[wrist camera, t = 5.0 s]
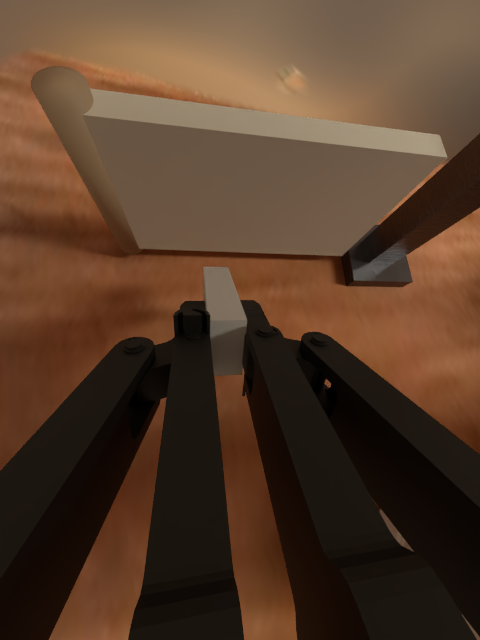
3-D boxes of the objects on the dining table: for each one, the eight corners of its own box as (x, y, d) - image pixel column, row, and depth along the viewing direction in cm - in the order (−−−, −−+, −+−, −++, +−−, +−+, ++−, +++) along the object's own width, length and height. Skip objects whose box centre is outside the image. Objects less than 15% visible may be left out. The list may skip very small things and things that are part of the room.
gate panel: (336, 242, 23) (447, 121, 13) (339, 261, 23) (458, 152, 12) (120, 232, 20) (35, 62, 10) (118, 254, 20) (26, 99, 9)
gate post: (389, 233, 26) (590, 68, 13) (402, 286, 24) (647, 163, 11) (336, 230, 25) (494, 48, 12) (346, 286, 23) (541, 148, 10)
